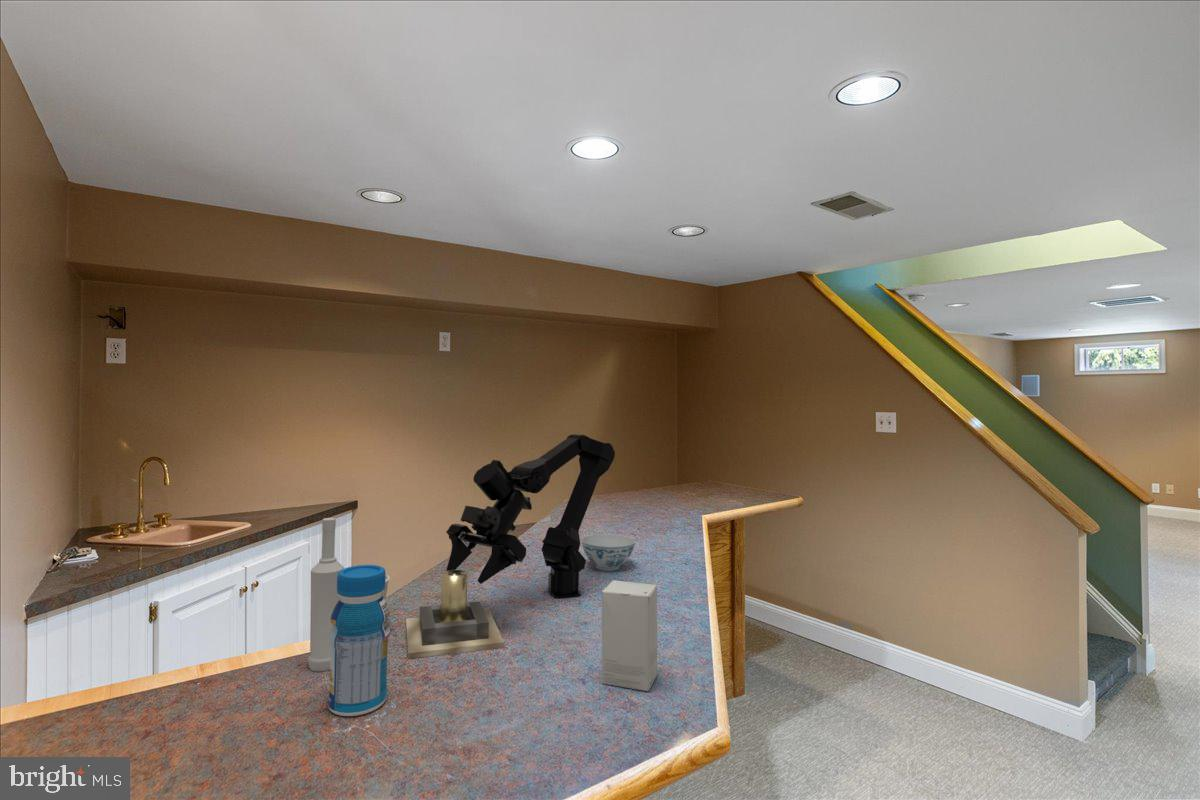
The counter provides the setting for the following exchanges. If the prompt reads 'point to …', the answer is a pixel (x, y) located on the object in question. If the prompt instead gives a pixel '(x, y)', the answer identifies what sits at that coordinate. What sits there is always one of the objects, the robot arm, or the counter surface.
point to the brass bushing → (453, 596)
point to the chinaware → (608, 550)
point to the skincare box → (629, 635)
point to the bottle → (323, 599)
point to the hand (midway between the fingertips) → (463, 577)
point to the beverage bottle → (359, 642)
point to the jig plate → (450, 646)
